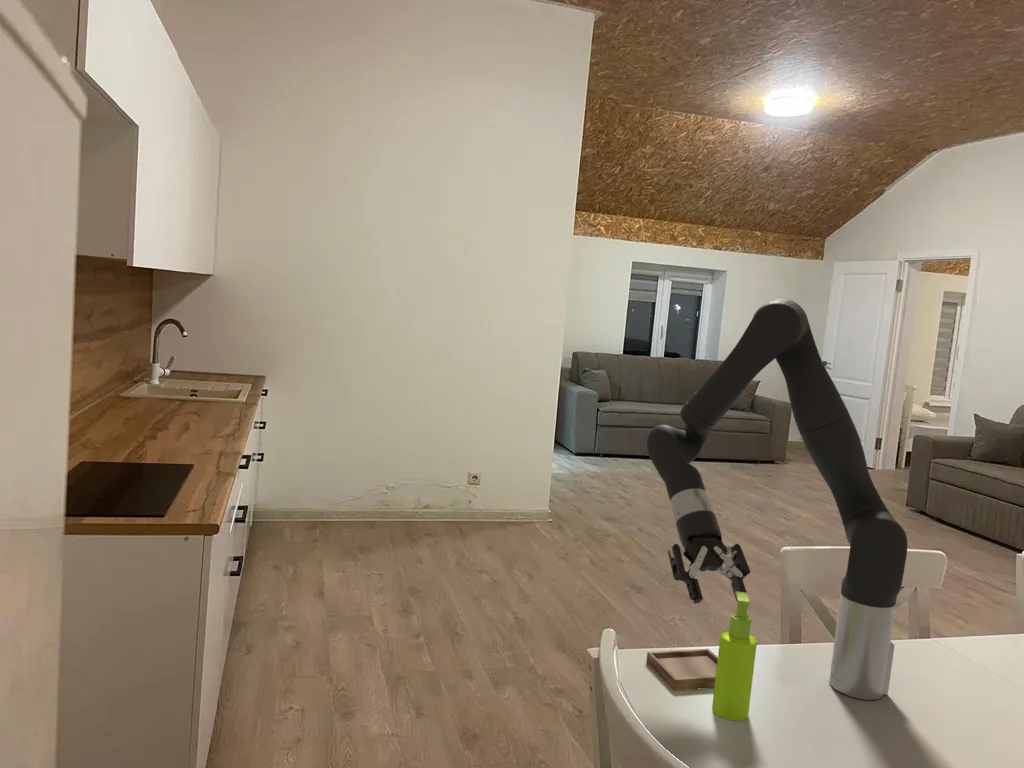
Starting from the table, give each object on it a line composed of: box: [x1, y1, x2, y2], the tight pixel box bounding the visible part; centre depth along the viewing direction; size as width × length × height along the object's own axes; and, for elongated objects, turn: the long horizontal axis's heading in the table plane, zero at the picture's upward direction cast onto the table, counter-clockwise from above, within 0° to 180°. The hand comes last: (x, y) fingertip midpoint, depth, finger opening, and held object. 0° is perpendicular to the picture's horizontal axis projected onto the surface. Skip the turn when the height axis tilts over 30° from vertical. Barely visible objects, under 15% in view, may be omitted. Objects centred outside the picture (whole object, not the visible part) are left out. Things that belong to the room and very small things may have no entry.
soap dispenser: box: [711, 591, 758, 722], centre depth 132 cm, size 6×7×20 cm
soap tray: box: [646, 648, 718, 692], centre depth 145 cm, size 13×11×2 cm
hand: (720, 601), depth 137 cm, fingers open, 8 cm apart
